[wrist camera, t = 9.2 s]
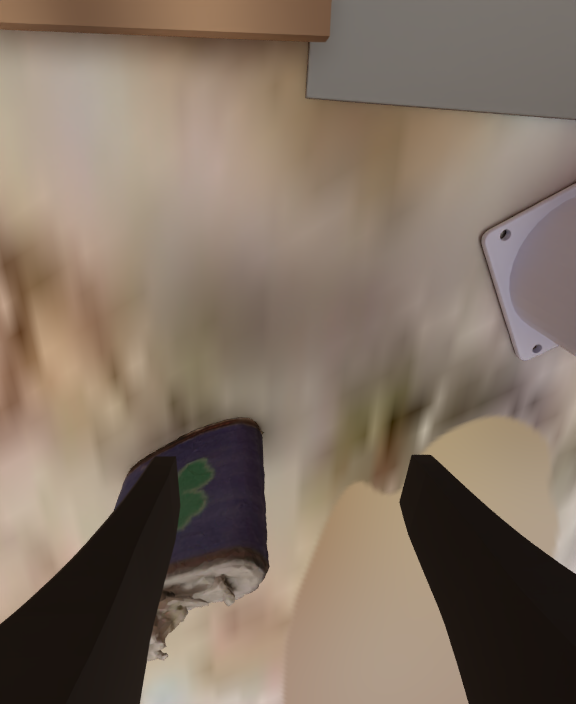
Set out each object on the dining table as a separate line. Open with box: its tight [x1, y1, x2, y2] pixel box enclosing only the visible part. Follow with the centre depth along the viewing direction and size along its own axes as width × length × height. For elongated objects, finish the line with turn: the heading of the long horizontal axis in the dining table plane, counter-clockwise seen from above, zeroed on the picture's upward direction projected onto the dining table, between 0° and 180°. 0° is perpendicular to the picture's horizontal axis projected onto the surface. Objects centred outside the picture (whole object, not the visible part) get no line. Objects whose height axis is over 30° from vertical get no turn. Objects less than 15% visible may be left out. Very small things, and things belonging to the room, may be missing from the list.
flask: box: [114, 417, 269, 661], centre depth 19 cm, size 9×3×11 cm, turn 116°
